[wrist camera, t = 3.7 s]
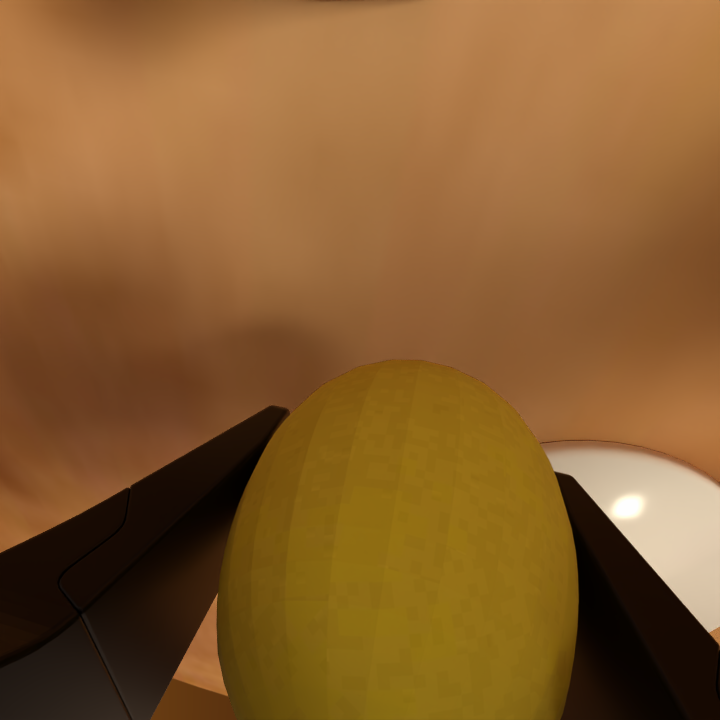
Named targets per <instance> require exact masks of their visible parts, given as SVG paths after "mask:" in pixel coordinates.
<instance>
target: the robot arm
mask: <svg viewBox="0 0 720 720" xmlns="http://www.w3.org/2000/svg"><path fill="white" fill-rule="evenodd" d="M289 415H290V412H289V410H288V409H287V408H283V407H279V406H273V405H272V406H269V407H267V408H265V409H264V410H262V411H260V412H258V413H257V414H255V415H253V416H251V417H250V418H248V419H246V420H245V421H243V422H241V423H239V424H238V425H236V426H234V427H232V428H231V429H229V430H227V431H225V432H224V433H222V434H220V435H218V436H217V437H215V438H213V439H211V440H210V441H208V442H206V443H204V444H203V445H201V446H199V447H197V448H196V449H194V450H192V451H190V452H189V453H187V454H185V455H183V456H182V457H180V458H178V459H176V460H175V461H173V462H171V463H170V464H168V465H166V466H164V467H163V468H161V469H159V470H157V471H156V472H154V473H152V474H150V475H149V476H147V477H145V478H143V479H142V480H140V481H138V482H136V483H135V484H133V485H131V487H130V488H126V489H124V490H122V491H120V492H119V493H117V494H115V495H113V496H112V497H110V498H108V499H106V500H105V501H103V502H101V503H99V504H97V505H95V506H94V507H92V508H90V509H88V510H86V511H84V512H83V513H81V514H79V515H77V516H75V517H73V518H71V519H69V520H67V521H65V522H63V523H61V524H59V525H57V526H55V527H53V528H51V529H49V530H47V531H45V532H43V533H41V534H39V535H37V536H35V537H33V538H30V539H28V540H26V541H24V542H22V543H20V544H18V545H16V546H14V547H12V548H10V549H8V550H5V551H3V552H1V553H0V720H150V719H151V717H152V715H153V713H154V711H155V709H156V708H157V706H158V704H159V702H160V700H161V698H162V696H163V695H164V693H165V691H166V689H167V687H168V685H169V683H170V681H171V680H172V678H173V676H174V674H175V672H176V670H177V668H178V666H179V665H180V663H181V661H182V659H183V657H184V655H185V653H186V651H187V649H188V648H189V646H190V644H191V642H192V640H193V638H194V636H195V634H196V633H197V631H198V629H199V627H200V625H201V623H202V621H203V619H204V618H205V616H206V614H207V612H208V610H209V608H210V606H211V604H212V603H213V601H214V599H215V597H216V595H217V593H218V589H219V578H220V572H221V567H222V562H223V557H224V552H225V547H226V543H227V540H228V536H229V532H230V529H231V525H232V522H233V519H234V516H235V513H236V510H237V507H238V504H239V502H240V499H241V497H242V495H243V492H244V490H245V487H246V485H247V483H248V481H249V479H250V477H251V475H252V473H253V471H254V469H255V467H256V465H257V463H258V461H259V459H260V457H261V456H262V454H263V452H264V450H265V448H266V446H267V444H268V443H269V441H270V440H271V438H272V436H273V435H274V433H275V432H276V431H277V429H278V428H279V427H280V425H281V424H282V423H283V422H284V420H285V419H286V418H287V417H288V416H289ZM554 473H555V475H556V478H557V481H558V484H559V487H560V491H561V494H562V497H563V501H564V504H565V507H566V511H567V514H568V518H569V521H570V525H571V528H572V533H573V539H574V544H575V549H576V559H577V569H578V594H579V603H578V627H577V636H576V645H575V654H574V661H573V667H572V674H571V680H570V685H569V689H568V694H567V698H566V702H565V707H564V711H563V714H562V717H561V719H560V720H720V646H719V644H718V643H717V642H716V641H715V639H714V638H713V637H712V636H711V635H710V634H709V632H708V631H707V630H706V629H705V628H704V627H703V626H702V624H701V623H700V622H699V621H698V620H697V619H696V618H695V616H694V615H693V614H692V613H691V612H690V611H689V609H688V608H687V607H686V606H685V605H684V604H683V603H682V601H681V600H680V599H679V598H678V597H677V596H676V595H675V593H674V592H673V591H672V590H671V589H670V588H669V586H668V585H667V584H666V583H665V582H664V581H663V580H662V578H661V577H660V576H659V575H658V574H657V573H656V572H655V570H654V569H653V568H652V567H651V566H650V565H649V563H648V562H647V561H646V560H645V559H644V558H643V557H642V555H641V554H640V553H639V552H638V551H637V550H636V548H635V547H634V546H633V545H632V544H631V543H630V542H629V540H628V539H627V538H626V537H625V536H624V535H623V534H622V532H621V531H620V530H619V529H618V528H617V527H616V525H615V524H614V523H613V522H612V521H611V520H610V519H609V517H608V516H607V515H606V514H605V513H604V512H603V511H602V509H601V508H600V507H599V506H598V505H597V504H596V502H595V501H594V500H593V499H592V498H591V497H590V496H589V494H588V493H587V492H586V491H585V490H584V489H583V487H582V486H581V485H580V484H579V483H578V482H577V481H576V479H575V478H574V477H572V476H571V475H569V474H564V473H560V472H556V471H554Z"/></svg>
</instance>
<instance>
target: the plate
mask: <svg viewBox="0 0 720 720" xmlns="http://www.w3.org/2000/svg"><path fill="white" fill-rule="evenodd" d="M540 445H541V446H542V448H543V450H544V451H545V453H546V455H547V457H548V459H549V461H550V463H551V465H552V468H553V470H554V471H556V472H560V473H564V474H569V475H571V476H572V477H574V478H575V479H576V481H577V482H578V483H579V484H580V485H581V486H582V487H583V489H584V490H585V491H586V492H587V493H588V494H589V496H590V497H591V498H592V499H593V500H594V501H595V502H596V504H597V505H598V506H599V507H600V508H601V509H602V511H603V512H604V513H605V514H606V515H607V516H608V517H609V519H610V520H611V521H612V522H613V523H614V524H615V525H616V527H617V528H618V529H619V530H620V531H621V532H622V534H623V535H624V536H625V537H626V538H627V539H628V540H629V542H630V543H631V544H632V545H633V546H634V547H635V548H636V550H637V551H638V552H639V553H640V554H641V555H642V557H643V558H644V559H645V560H646V561H647V562H648V563H649V565H650V566H651V567H652V568H653V569H654V570H655V572H656V573H657V574H658V575H659V576H660V577H661V578H662V580H663V581H664V582H665V583H666V584H667V585H668V586H669V588H670V589H671V590H672V591H673V592H674V593H675V595H676V596H677V597H678V598H679V599H680V600H681V601H682V603H683V604H684V605H685V606H686V607H687V608H688V609H689V611H690V612H691V613H692V614H693V615H694V616H695V618H696V619H697V620H698V621H699V622H700V623H701V624H702V626H703V627H704V628H705V629H706V630H707V631H708V632H711V631H713V630H714V629H716V628H718V627H720V483H719V482H718V481H717V480H715V479H714V478H712V477H711V476H710V475H708V474H707V473H706V472H704V471H702V470H700V469H698V468H696V467H695V466H693V465H691V464H689V463H687V462H685V461H683V460H680V459H677V458H675V457H672V456H670V455H667V454H665V453H661V452H658V451H654V450H651V449H647V448H643V447H639V446H633V445H628V444H622V443H616V442H603V441H590V440H589V441H559V442H550V443H541V444H540Z"/></svg>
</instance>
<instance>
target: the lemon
mask: <svg viewBox="0 0 720 720" xmlns="http://www.w3.org/2000/svg"><path fill="white" fill-rule="evenodd" d="M578 603H579V594H578V569H577V559H576V549H575V544H574V539H573V533H572V528H571V525H570V521H569V518H568V514H567V511H566V507H565V504H564V501H563V497H562V494H561V491H560V487H559V484H558V481H557V478H556V475H555V473H554V470H553V468H552V465H551V463H550V461H549V459H548V457H547V455H546V453H545V451H544V450H543V448H542V446H541V445H540V443H539V442H538V441H537V439H536V438H535V436H534V435H533V434H532V432H531V431H530V429H529V428H528V427H527V425H526V424H525V422H524V421H523V420H522V418H521V417H520V415H519V414H518V412H517V411H516V410H515V409H514V408H513V407H512V406H511V405H510V404H509V403H508V402H506V401H505V400H504V399H503V398H502V397H500V396H499V395H498V394H497V393H495V392H494V391H493V390H492V389H491V388H489V387H488V386H487V385H486V384H484V383H483V382H481V381H479V380H477V379H475V378H473V377H471V376H468V375H466V374H464V373H462V372H460V371H458V370H456V369H454V368H452V367H448V366H444V365H440V364H436V363H431V362H427V361H423V360H387V361H383V362H378V363H373V364H369V365H364V366H359V367H357V368H355V369H353V370H351V371H349V372H347V373H345V374H343V375H341V376H339V377H337V378H335V379H333V380H331V381H329V382H327V383H325V384H323V385H322V386H321V387H320V388H318V389H317V390H316V391H315V392H314V393H312V394H311V395H310V396H309V397H308V398H307V399H306V400H305V401H304V402H303V403H302V404H300V405H299V406H298V407H297V408H296V409H295V410H294V411H293V412H292V413H291V414H290V415H289V416H288V417H287V418H286V419H285V420H284V422H283V423H282V424H281V425H280V427H279V428H278V429H277V431H276V432H275V433H274V435H273V436H272V438H271V440H270V441H269V443H268V444H267V446H266V448H265V450H264V452H263V454H262V456H261V457H260V459H259V461H258V463H257V465H256V467H255V469H254V471H253V473H252V475H251V477H250V479H249V481H248V483H247V485H246V487H245V490H244V492H243V495H242V497H241V499H240V502H239V504H238V507H237V510H236V513H235V516H234V519H233V522H232V525H231V529H230V532H229V536H228V540H227V543H226V547H225V552H224V557H223V562H222V567H221V572H220V578H219V589H218V599H217V644H218V656H219V661H220V666H221V671H222V676H223V680H224V684H225V687H226V690H227V693H228V696H229V699H230V702H231V705H232V707H233V710H234V713H235V716H236V718H237V720H560V719H561V717H562V714H563V711H564V707H565V702H566V698H567V694H568V689H569V685H570V680H571V674H572V667H573V661H574V654H575V645H576V636H577V627H578Z"/></svg>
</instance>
